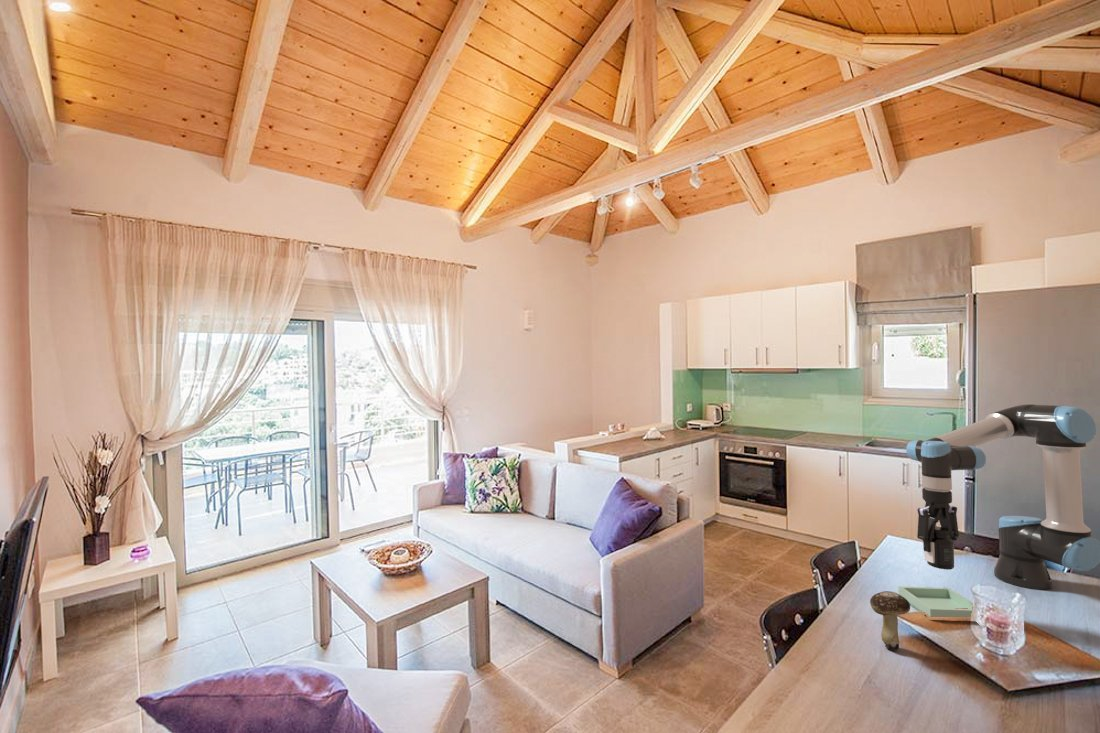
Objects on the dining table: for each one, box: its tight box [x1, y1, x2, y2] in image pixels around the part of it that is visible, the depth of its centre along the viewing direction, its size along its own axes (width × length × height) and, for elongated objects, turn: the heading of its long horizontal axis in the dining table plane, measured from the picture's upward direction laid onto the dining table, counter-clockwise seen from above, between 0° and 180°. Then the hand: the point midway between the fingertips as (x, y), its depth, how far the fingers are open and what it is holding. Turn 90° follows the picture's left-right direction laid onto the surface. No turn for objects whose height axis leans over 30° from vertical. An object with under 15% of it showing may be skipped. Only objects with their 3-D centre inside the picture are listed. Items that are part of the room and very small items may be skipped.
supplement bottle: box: [926, 525, 955, 570], centre depth 155 cm, size 7×7×12 cm
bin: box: [897, 585, 974, 617], centre depth 155 cm, size 16×16×4 cm
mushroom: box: [869, 590, 911, 652], centre depth 133 cm, size 9×9×15 cm
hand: (938, 560), depth 155 cm, fingers closed on supplement bottle, 7 cm apart
